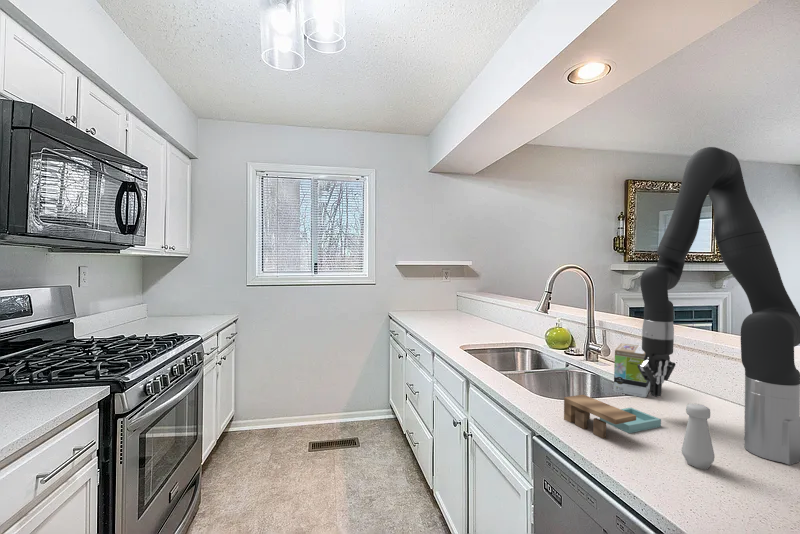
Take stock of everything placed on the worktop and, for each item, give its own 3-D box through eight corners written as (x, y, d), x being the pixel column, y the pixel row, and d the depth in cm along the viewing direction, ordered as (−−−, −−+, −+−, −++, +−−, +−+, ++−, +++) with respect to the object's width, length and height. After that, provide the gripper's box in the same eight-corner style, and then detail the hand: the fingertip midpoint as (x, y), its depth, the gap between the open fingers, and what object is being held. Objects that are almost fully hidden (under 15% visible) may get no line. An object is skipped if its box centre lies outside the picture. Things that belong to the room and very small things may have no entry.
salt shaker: (682, 455, 89) (682, 398, 89) (714, 463, 85) (714, 404, 85) (680, 465, 84) (681, 406, 84) (714, 474, 80) (714, 412, 80)
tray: (660, 428, 104) (661, 419, 104) (628, 434, 100) (628, 425, 100) (630, 415, 113) (630, 407, 113) (599, 421, 108) (599, 412, 108)
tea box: (647, 398, 126) (648, 353, 126) (612, 392, 132) (613, 349, 132) (651, 387, 138) (651, 345, 137) (619, 381, 144) (619, 342, 144)
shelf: (636, 440, 96) (636, 415, 96) (615, 445, 93) (615, 419, 93) (582, 415, 111) (582, 394, 111) (564, 419, 109) (564, 397, 109)
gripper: (654, 340, 104) (652, 403, 105) (686, 337, 109) (684, 397, 110) (629, 334, 111) (627, 393, 112) (660, 331, 116) (658, 388, 117)
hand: (655, 395), depth 111 cm, fingers closed
